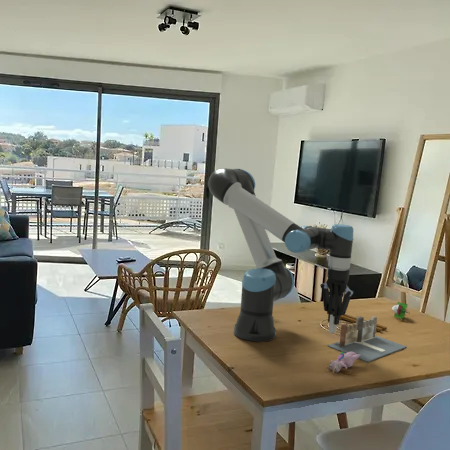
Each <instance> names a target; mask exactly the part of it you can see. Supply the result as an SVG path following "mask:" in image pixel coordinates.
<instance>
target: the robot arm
mask: <svg viewBox="0 0 450 450" xmlns="http://www.w3.org/2000/svg"><path fill="white" fill-rule="evenodd" d="M207 184H208V185H207V186H208V189H209V192H210V194H211V195H212V196H213V197H214V198H216V200H218V201H219V202H220V203H222V204H224V206H227V207H228V208H231V209H232V210H233V211H234V213H235V217H236V219H237V221H238V224H239V226H240V229H241V231H242V234H243V236H244V239H245V241H246V243H247V247H248V249H249V252H250V255H251V256H252V259H253V262H254V265H255V267H254V268H251V269H248V270H246V271H245V272H244V273H243V276H242V282H241V284H242V285H241V298H240V312H239V314H238V317H237V319H236V323H235V324H234V326H233V334H234V335H235V336H236V337H237V338H239V339H241V340H245V341H249V342H256V343H257V342H260V343H261V342H269V341H273V340H274V339H275V338H276V333H277V331H276V328H275V327H276V326H275V322H274V317H273V310H274V302H275V301H278V300H280V299H283V298H286V297H287V296H288V295H289V294H290V293H291V292H292V290H293V289H294V286H295V278H294V275H293V273H292V271H291V270H290V269H289V268H287V267H286V266H285V265H284V262H283V260H282V259H280V258H278V257H277V255H276V253H275V250H274V248H273V245H272V243H271V240H270V238H269V235H268V233H267V232H269V233H270V234H272V235H273V236H275V238H277V239H279V240H281V241H282V242H283V243H284V245H285V247H286V248H287V250H288V251H290V252H292V253H295V254H298V253H299V254H300V253H305V252H306V251H309V250H314V249H320V250H327V251H329V252H328V253H329V256H328V263H327V265H328V268H327V274H326V275H327V279H326V281H325V282H324V283H321V284H320V288H321V290H322V302H323V303H322V304H323V310H324V312H326V313H327V312H328V314H327V315H328V317H327V323H329V324H328V333H329V334H336V333H337V329H338V325H339V324H340V320H339V319H340V316H342V315H345V314H347V313H346V312H347V310H348V306H349V303H350V301H351V298H352V296H353V295H354V294H355V291H354V290H351V289H350V287H349V279H350V269H351V263H352V262H351V261H352V249H353V243H354V227H353V226H352V225H349V224H339V223H335V224H332V227H331V228H324V227H317V226H312V225H302V226H300V225H298V224H296V223H295V222H294V221H292V220H291V219H289V218H288V217H286V216H285V215H283V214H282V213H280V212H279V211H277V210H276V209H274V208H273V207H271V206H270V205H268V204H267V203H265V202H264V201H263V200H261V199H259V198H258V197H257V196H256V193H255V189H256V181H255V178H254V176H253V175H252V174H251V173H250V172H249V171H247V170H245V169H243V168H242V169H241V168H226V167H225V168H218V169H216V170H214V171H213V172H212V173H211V174H210V176H209V179H208V183H207Z"/></svg>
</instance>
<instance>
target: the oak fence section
mask: <svg viewBox="0 0 450 450" xmlns="http://www.w3.org/2000/svg"><path fill="white" fill-rule="evenodd" d="M340 328H341V329H340V335H339V336H340V337H339V341H340V344H339V345H341V346H345V345H346V344H350V343H353V342H356V341H357V336H358V330H357V324H356V323H354V324H353V325H352V323H350V324H348V325H346V324H341V327H340Z"/></svg>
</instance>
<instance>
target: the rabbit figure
mask: <svg viewBox="0 0 450 450" xmlns="http://www.w3.org/2000/svg"><path fill="white" fill-rule="evenodd" d="M339 353H340V354H339V355H338V356H337V359H336V360H330V364H327V365H326V366H325V370H326V371H327V372H328V371H331V373H332V374H334V375H335V373H336V374H337V373H339V372H340V371H341V369H343V368H345V369H346V370H347V369H348V368H351V367H352V366H353V365H354V362H355V361H356V360H359V359H358V358H359V356H360V354H356V353H355V352H348V353H343V352H341V351H340V352H339ZM328 368H329V369H328Z"/></svg>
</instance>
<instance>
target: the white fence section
mask: <svg viewBox="0 0 450 450" xmlns="http://www.w3.org/2000/svg"><path fill="white" fill-rule="evenodd" d="M356 318H357V321H356V324H357V330H358V336H357V341H356V342H361V341H363V340H366V339H369V338H372V337H375V335H376V333H377V332H376V324H378V323H377V322H378V317H377V316H374V315H373V316H371V318H369V319H365V318H364V317H363V316H356ZM364 320H366V321H364Z"/></svg>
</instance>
